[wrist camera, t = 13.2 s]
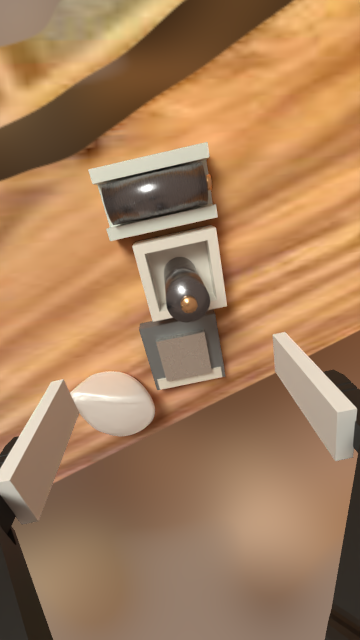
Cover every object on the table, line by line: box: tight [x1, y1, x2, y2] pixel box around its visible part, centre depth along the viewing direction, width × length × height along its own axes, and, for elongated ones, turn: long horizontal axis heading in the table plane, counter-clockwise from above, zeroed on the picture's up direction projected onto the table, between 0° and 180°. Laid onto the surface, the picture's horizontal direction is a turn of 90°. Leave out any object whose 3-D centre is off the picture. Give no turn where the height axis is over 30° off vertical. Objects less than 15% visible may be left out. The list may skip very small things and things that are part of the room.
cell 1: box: [101, 161, 212, 225], centre depth 31 cm, size 12×4×4 cm, turn 102°
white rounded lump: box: [70, 371, 155, 436], centre depth 42 cm, size 10×11×12 cm
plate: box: [156, 329, 212, 381], centre depth 40 cm, size 7×7×1 cm
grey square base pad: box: [139, 309, 225, 390], centre depth 42 cm, size 11×11×2 cm
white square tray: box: [132, 225, 227, 322], centre depth 36 cm, size 10×10×4 cm
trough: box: [89, 142, 218, 241], centre depth 32 cm, size 13×8×3 cm, turn 102°
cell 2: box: [164, 257, 210, 322], centre depth 32 cm, size 4×4×12 cm
